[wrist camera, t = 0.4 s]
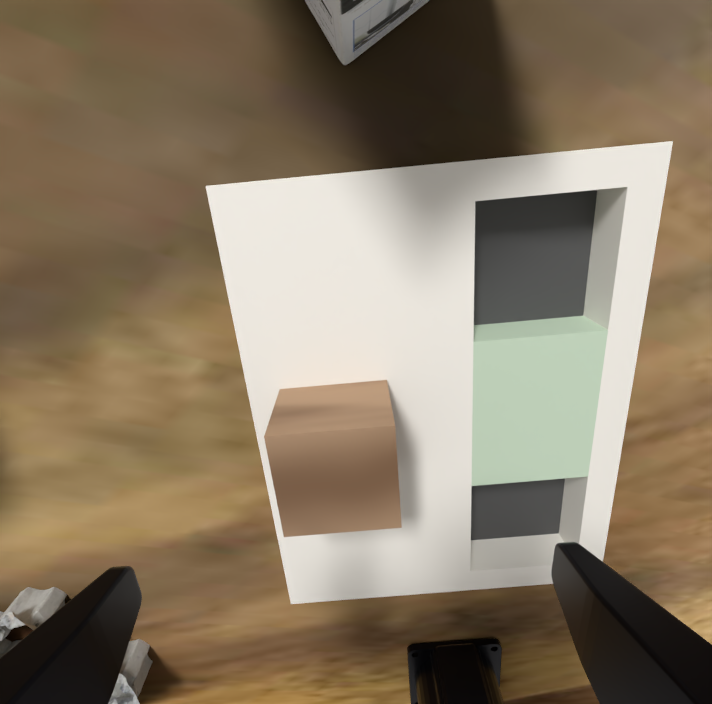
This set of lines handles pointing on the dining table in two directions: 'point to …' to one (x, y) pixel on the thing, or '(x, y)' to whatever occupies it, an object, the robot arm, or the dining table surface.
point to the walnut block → (334, 459)
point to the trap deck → (454, 348)
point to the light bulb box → (359, 22)
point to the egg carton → (43, 604)
